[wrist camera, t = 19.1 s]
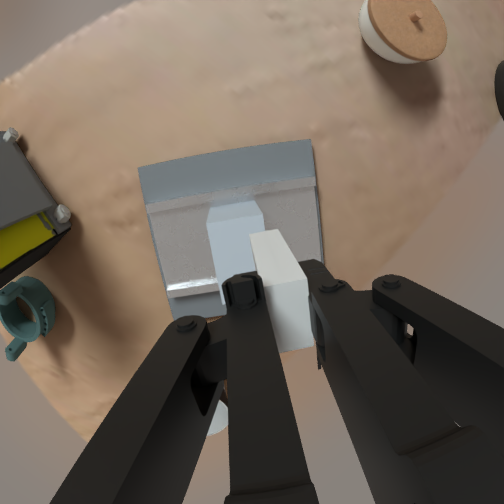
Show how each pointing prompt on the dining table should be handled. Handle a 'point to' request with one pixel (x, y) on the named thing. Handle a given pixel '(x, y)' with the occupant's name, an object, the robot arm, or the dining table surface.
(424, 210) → the dining table surface
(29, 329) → the bracket
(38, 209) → the electrical component
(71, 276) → the dining table surface
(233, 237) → the block
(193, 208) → the din rail
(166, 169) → the mounting board
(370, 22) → the lidded jar
